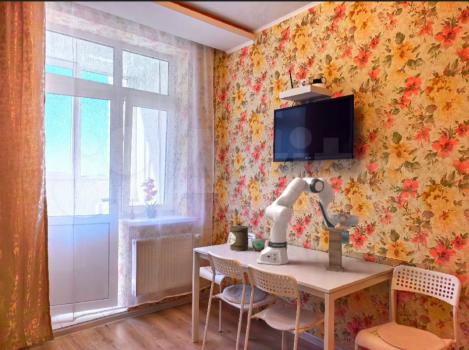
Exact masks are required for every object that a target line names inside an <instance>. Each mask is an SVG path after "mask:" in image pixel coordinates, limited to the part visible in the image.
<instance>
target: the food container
mask: <svg viewBox="0 0 469 350" xmlns="http://www.w3.org/2000/svg"><path fill="white" fill-rule="evenodd" d="M250 242H251V245H252V246H251V247H252V252H254V251H255V252H254V253H260V252H261V251H262V250H263V249H265V248H266V246H265V245H266V242H267V239H266V238H251V240H250Z"/></svg>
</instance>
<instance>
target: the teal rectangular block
mask: <svg viewBox="0 0 469 350" xmlns="http://www.w3.org/2000/svg"><path fill="white" fill-rule="evenodd" d="M339 228H345V231H343V232H342V245H344V244H345V245H348V244H349V243H350V240H351V239H350V234H349V231H347V227H346V217H345V213H341V214H340V225H339Z"/></svg>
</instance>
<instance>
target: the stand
mask: <svg viewBox="0 0 469 350" xmlns="http://www.w3.org/2000/svg"><path fill="white" fill-rule="evenodd" d="M343 231H345V228H341V227H337V228H334V227H328V228H327V227H326V229H325V232H328V265H327V266H326V267H325V268H326V271H333V272H340V273H341V272H342V273H343V272H344V271H345V270H346V268H345V266H343V249H342V248H343V247H342V246H343V244H342V232H343Z"/></svg>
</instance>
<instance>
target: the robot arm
mask: <svg viewBox="0 0 469 350" xmlns="http://www.w3.org/2000/svg"><path fill="white" fill-rule="evenodd" d="M304 192H306V193H309V194H317V195H318V198H319V201H317V204H318V207H319V210H320V213H321V216H322V219H323V222H324V225H325V227H326V228H328V227H334V228H335V226H336V225H337V223H339V224H340V213H338V214H334V213H331V214H329V213H328V210H327V208H328V207H329V205H330V204H331V203H332V202H333V200H334V198H335V191H334V189H333V187H332V185H331V184H330V183H329V181H327V179H325V178H324V177H319V178H318V177H317V178H315V177H310V176H307V177H306V176H303V177H298V176H297V177H295V178H294V179H292V180H291V182H290V183H289V184H288V185H287V187H285V189H284V190H283V192H282V193H281V194H280V196H279V197H278V198H277V199H276V200H274V201H273V202H272V203H271V204H270V205H268V206H267V207H266V209H265V211H264V213H265V216H266V217H267V218H268V219H269V220H271V221H273V223H272V224H273V225H272V226H271V228H270V231H269V233H270V235H269V237H270V238H269V239H270V240H266V242H267V246H265V248H264V249H263V250H262V251H261V252H259V257H257V258H256V260H255V261H256V262H255V263H257V264H261V265H262V264H263V265H272V266H273V265H275V266H280V265H285V264H288V263H290V260H289V256H288V241H287V230H288V225H289V223H290V221H291V220H292V217H293V212H292V210H291V209H290V207H293V206H294V205H295V204H296V203H297V202H298V200H299V198H300V197H301V195H302V193H304ZM347 213H348V212H347ZM347 213H345V217H346V227H347V229H350V228H351V227H354V228H357V227H358V225H359V221H360V216H359V215H357V214H354V215H353V214H349V213H348V214H347Z"/></svg>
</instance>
